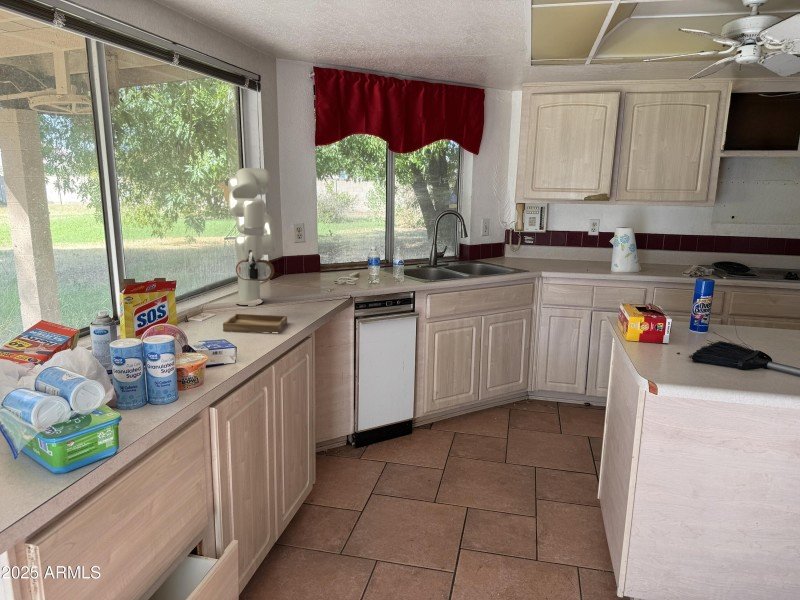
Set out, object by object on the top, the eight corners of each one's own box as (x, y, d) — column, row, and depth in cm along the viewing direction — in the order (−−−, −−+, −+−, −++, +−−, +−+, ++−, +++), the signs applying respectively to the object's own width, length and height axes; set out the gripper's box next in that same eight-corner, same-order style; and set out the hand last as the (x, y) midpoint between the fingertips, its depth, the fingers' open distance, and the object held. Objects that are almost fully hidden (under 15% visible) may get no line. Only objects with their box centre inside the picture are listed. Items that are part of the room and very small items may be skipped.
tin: (274, 280, 217) (274, 259, 215) (272, 281, 214) (272, 260, 212) (237, 279, 217) (237, 258, 216) (234, 280, 214) (234, 259, 213)
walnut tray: (236, 320, 216) (235, 313, 215) (287, 323, 215) (287, 316, 215) (223, 331, 202) (222, 323, 201) (277, 333, 201) (277, 326, 201)
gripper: (250, 229, 219) (251, 274, 223) (237, 233, 204) (239, 281, 208) (269, 230, 219) (269, 274, 223) (257, 234, 203) (258, 282, 207)
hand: (255, 277), depth 215 cm, fingers closed on tin, 2 cm apart
